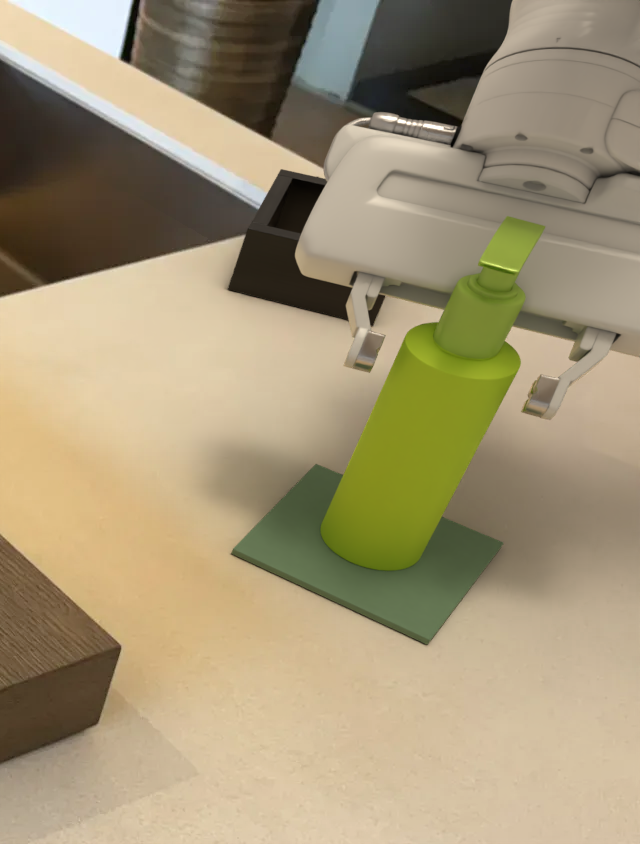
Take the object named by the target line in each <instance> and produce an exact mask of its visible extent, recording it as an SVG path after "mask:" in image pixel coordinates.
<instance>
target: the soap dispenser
mask: <svg viewBox="0 0 640 844" xmlns="http://www.w3.org/2000/svg"><path fill="white" fill-rule="evenodd" d="M544 229H545V226H543V225H539V224H535V223H532V222H528V221H524V220H521V219H517V218H513V217H509V216H507V217H506V218H505V220H504V221H503V222H502V224H501V225H500V227H499V228H498V230H497V231H496V233H495V234H494V236H493V238H492V239H491V241H490V243H489V244H488V246H487V248H486V250H485V251H484V253H483V255H482V257H481V258H480V260H479V263H478V266H481V267H483V269H482V271H481V273H478V274H473V275H467V276H464V277H462V278H461V279H460V280H459V281H458V282H457V284H456V286H455V288H454V290H453V292H452V294H451V297H450V299H449V301H448V303H447V305H446V307H445V310H443V312H442V314H441V316H440V318H439V320H438V321H434V322H433V321H432V322H426V323H421V324H418V325H415V326H414V327H412V328H411V329H409V330H408V331H407V332H406V334H405V336H404V338H403V340H402V343H401V345H400V346H399V349H398V351H397V354H396V356H395V358H394V360H393V362H392V365H391V367H390V370H389V371H388V374H387V376H386V378H385V381H384V383H383V385H382V387H381V389H380V392H379V393H378V396H377V399H376V401H375V403H374V405H373V408H372V410H371V412H370V414H369V417H368V419H367V421H366V422H365V425H364V427H363V430H362V432H361V434H360V436H359V439H358V440H357V443H356V446H355V448H354V450H353V452H352V455H351V456H350V459H349V461H348V463H347V466H346V468H345V470H344V473H343V474H342V475H343V477H342V479H341V481H340V484H339V486H338V488H337V490H336V492H335V495H334V497H333V499H332V501H331V504H330V506H329V508H328V510H327V513H326V515H325V517H324V519H323V522H322V524H321V528H320V531H321V536H322V538H323V540H324V542H325V543H326V545H327V546H328V547H329V548H330V549H331V550H332V551H333V552H335V553H336V554H337V555H339V556H340V557H342V558H344V559H345V560H347V561H349V562H352V563H354V564H356V565H359V566H362V567H366V568H370V569H375V570H384V571H393V570H401V569H405V568H408V567H410V566H412V565H414V564H415V563H416V562H417V561H418V560H419V559H420V557H421V555H422V553H423V551H424V550H425V548H426V546H427V544H428V542H429V540H430V538H431V536H432V534H433V532H434V530H435V529H436V527H437V525H438V523H439V521H440V519H441V517H443V515H444V513H445V511H446V509H447V507H448V506H449V504H450V502H451V500H452V499H453V496H454V494H455V493H456V491H457V489H458V486H459V485H460V482H461V481H462V479H463V477H464V475H465V474H466V471H467V470H468V468H469V465H470V463H471V462H472V460H473V458H474V456H475V454H476V452H477V450H478V449H479V447H480V444H481V443H482V440H483V439H484V437H485V435H486V433H487V431H488V429H489V427H490V426H491V424H492V422H493V420H494V418H495V416H496V414H497V412H498V410H499V409H500V406H501V405H502V402H503V401H504V399H505V397H506V395H507V393H508V391H509V389H510V387H511V385H512V384H513V382H514V379H515V378H516V375H517V374H518V372H519V370H520V369H521V364H522V359H521V356H520V354H519V353H518V351H517V350H516V349H515V348H514V347H513V346H512V345H511V344H510V343H509V342H507V341H506V339H507V338H508V336H509V334H510V332H511V330H512V328H513V327H512V326H513V324H514V322H515V320H516V318H517V316H518V314H519V312H520V310H521V308H522V306H523V304H524V302H525V299H526V296H525V293H524V291H523V290H522V289H521V288H520V287H519V286H518V285H517V284H516V283H515V281H516V279H517V277H518V275H519V273H520V271H521V269H522V267H523V265H524V263H525V262H526V260H527V258H528V257H529V255H530V253H531V252H532V250H533V248H534V247H535V245H536V243H537V242H538V240H539V238H540V237H541V235H542V233H543V231H544Z"/></svg>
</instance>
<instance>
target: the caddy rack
mask: <svg viewBox="0 0 640 844" xmlns="http://www.w3.org/2000/svg"><path fill="white" fill-rule="evenodd" d="M326 184H327V181H326V179H325V177H319V176H314V175H310V174H306V173H302V172H301V173H300V172H296V171H291V170H287V169H283V168H281V169H280V170H279V171H278V173H277V175H276V177H275V179H274V180H273V183H272V184H271V186H270V188H269V190H268V192H267V193H266V194H265V197H264V199H263V201H262V202H261V204H260V206H259V208H258V209H257V211H256V213H255V214H254V217H253V219H252V220H251V222H250V223H249V225H248V227H247V230H246V232H245V234H244V238H243V241H242V244H241V247H240V250H239V254H238V256H237V259H236V262H235V266H234V269H233V272H232V274H231V277H230V280H229V282H228V283H229V284H228V287H227V290H228V291H232V292H235V293H239V294H240V293H241V294H244V295H247V296H252V297H256V298H259V299H263V300H268V301H272V302H276V303H279V304H283V305H287V306H291V307H295V308H300V309H303V310H307V311H310V312H311V311H312V312H315V313H319V314H323V315H328V316H330V317H331V316H332V317H335V318H339V319H343V320H347V321H349V319H348V314H347V309H346V303H347V301H348V298H349V296H350V293H351V291H352V287H348V286H344V285H339V284H335V283H331V282H327V281H323V280H319V279H315V278H310V277H307V276H304V275H303V274H302V273H301V271H300V269H299V267H298V264H297V262H296V259H295V252H296V247H297V244H298V241H299V239H300V236H301V233H302V231H303V229H304V226H305V224H306V222H307V220H308V218H309V216H310V214H311V211H312V210H313V208H314V206H315V204H316V202H317V200H318V198H319V196H320V194H321V192H322V191H323V189H324V187H325V185H326ZM385 299H386V296H385V295H381V294H378V296H377V299H376V301H375V303H374V305H373V308H372V309H371V310H368V315H369V320H370V326H371V327H373V326H374V325H375V323H376V320H377V317H378V316H379V313H380V311H381V308H382V305H383V303H384V301H385Z"/></svg>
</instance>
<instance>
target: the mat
mask: <svg viewBox="0 0 640 844" xmlns="http://www.w3.org/2000/svg"><path fill="white" fill-rule="evenodd" d="M343 475H344V474H342V473H339V472H338V471H337V472H336V471H334V470H332V469H329V468H327V467H325V466H323V465H320V464H318V463H315V464H314V465H313V466H312V468H310V469H309V470H308V471H307V472H306V473H305V474H304V475H303V476H302V477H301V479H299V481H298V482H296V483H295V485H294V486H293V487H292V488H290V490H289V491H288V492H287V493H286V494H285V495H284V496H283V497H282V498H281V499H280V500H279V501H278V502H277V503H276V504H275V505H274V506H273V507H272V508H271V509H270V510H269V511H268V512H267V513H266V514H265V515H264V516H263V517H262V518H261V519H260V520H259V522H257V523H256V524H255V525H254V527H253V528H252V529H251V530H250V531H248V533H247V534H246V535H245V536H244V537H243V538H241V540H239V542H238V543H237V544H235V546H234V547H233V548H232V549H231V555H233V556H235V557H238V558H239V559H242V560H244V561H245V562H248V563H251V564H252V565H254V566H257V567H259V568H261V569H263V570H265V571H267V572H270V573H272V574H274V575H276V576H278V577H281V578H283V579H284V580H287V581H289V582H291V583H293V584H296V585H298V586H299V587H302V588H304V589H306V590H309V592H310V591H311V592H313V593H315V594H317V595H319V596H321V597H324V598H325V599H328V600H329V601H332V602H334V603H336V604H338V605H340V606H342V607H345V608H347V609H349V610H352V611H353V612H356V613H358V614H360V615H362V616H364V617H366V618H369V619H370V620H373V621H375V622H377V623H379V624H382V625H384V626H386V627H388V628H390V629H392V630H394V631H396V632H398V633H400V634H404V635H405V636H407V637H409V638H412V639H414V640H416V641H418V642H420V643H422V644H424V645H429V644H430V642H432V640H433V638H434V637H435V636H436V634H437V633H438V632H439V630H440V629H441V628H442V627H443V625H444V624H445V623H446V621H448V619H449V617H450V616H452V613H453V612H454V611H455V609H456V608H457V606H458V605H459V604H460V603H461V602H462V600H463V599H464V597H465V596H466V595H467V593H468V592H469V590H471V588H472V587H473V586H474V584H476V582H477V580H478V579H479V578H480V576H481V575H482V573H483V572H484V571H485V570H486V568H487V567H488V566H489V564H490V563H491V562H492V560H493V559H494V558H495V556H496V555H497V553H498V552H499V551H500V550H501V548H502V547H503V545H504V541H501V540H499V539H498V538H497V539H496V538H494V537H492V536H489V535H488V534H485V533H482V532H480V531H478V530H475V529H473V528H470V527H468V526H465V525H463V524H462V523H461V524H460V523H458V522H456V521H453V520H451V519H449V518H446V517H444V516H442V517H441V519H440V521H439V523H438V525H437V527H436V529H435V530H434V532H433V534H432V536H431V538H430V540H429V542H428V544H427V546H426V548H425V550H424V551H423V553H422V555H421V557H420V559H419V560H418V561H417V562H416V563H415V564H414V565H412V566H410V567H408V568H405V569H401V570H393V571H384V570H375V569H370V568H366V567H362V566H359V565H356V564H354V563H352V562H349V561H347V560H345V559H344V558H342V557H340V556H339V555H337V554H336V553H335V552H333V551H332V550H331V549H330V548H329V547H328V546H327V545H326V543H325V542H324V540H323V538H322V536H321V531H320V528H321V524H322V522H323V519H324V517H325V515H326V513H327V510H328V508H329V506H330V504H331V501H332V499H333V497H334V495H335V492H336V490H337V488H338V486H339V484H340V481H341V479H342V477H343Z"/></svg>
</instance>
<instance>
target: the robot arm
mask: <svg viewBox="0 0 640 844" xmlns="http://www.w3.org/2000/svg"><path fill="white" fill-rule="evenodd" d="M508 15H509V16H508V27H507V32H506V35H505V37H504V40H503V42H502V44H500V46H499V48H498V49H497V51H496V52H495V53H494V54H493V56H492V57H491V58H490V59H489V61H488V62H487V64H486V66H485V67H484V69H483V71H482V73H481V76H480V78H479V81H478V82H477V86H476V88H475V91H474V92H473V95H472V98H471V100H470V103H469V105H468V107H467V110H466V113H465V114H464V118H463V120H462V123H461V125H459V126H457V125H452V124H446V123H442V122H437V121H432V120H422V119H419V120H418V119H411V118H406V117H401V116H400V115H398V114H395V113H392V112H384V111H378V112H374V113H373V114H372V117H368V116H366V117H360V118H359V117H358V118H355V119H354V120H351V121H349V122H348V123H346V124H344V125H343V126H342V127H341V128H340V129H339V130H338V131H337V132H336V134H335V135H334V137H333V138H332V141H331V144H330V147H329V149H328V151H327V154H326V157H325V159H324V162H323V176H324V179H326V181H327V184H326V185H325V187H324V189H323V191H322V192H321V194H320V196H319V198H318V200H317V202H316V204H315V206H314V208H313V210H312V211H311V214H310V216H309V218H308V220H307V222H306V224H305V226H304V229H303V231H302V233H301V236H300V239H299V241H298V244H297V247H296V252H295V259H296V262H297V264H298V267H299V269H300V271H301V273H302V274H303V275H304V276H307V277H310V278H315V279H319V280H323V281H327V282H331V283H335V284H339V285H344V286H348V287H352V291H351V293H350V296H349V298H348V301H347V303H346V309H347V314H348V319H349V320H348V323H349V328H350V329H349V330H350V334H351V338H353V340H352V343H351V345H350V347H349V350H348V353H347V355H346V357H345V360H344V362H343V365H342V367H345V368H348V369H353V370H356V371H360V372H364V373H368V374H370V373H371V371H372V370H373V368H374V366H375V363H376V361H377V359H378V356H379V352H380V350H381V348H382V346H383V343H384V341H385V339H386V336H387V335H386V334H383V333H379V332H376V331H372V326H370V320H369V315H368V310H371V309H372V308H373V305H374V303H375V301H376V299H377V296H378V294H381V295H385V297H389V298H393V299H397V300H401V301H405V302H409V303H413V304H418V305H421V306H422V305H423V306H426V307H430V308H434V309H439V310H442V311H444V310H445V307H446V305H447V303H448V301H449V299H450V297H451V294H452V292H453V290H454V288H455V286H456V284H457V282H458V281H459V280H460V279H461V278H462V277H464V276H467V275H473V274H478V273H481V271H482V269H483V267H481V266H478V263H479V260H480V258H481V257H482V255H483V253H484V251H485V250H486V248H487V246H488V244H489V243H490V241H491V239H492V238H493V236H494V234H495V233H496V231H497V230H498V228H499V227H500V225H501V224H502V222H503V221H504V220H505V218H506V217H507V216H509V217H513V218H517V219H521V220H524V221H528V222H532V223H535V224H539V225H543V226H545V229H544V231H543V233H542V235H541V237H540V238H539V240H538V242H537V243H536V245H535V247H534V248H533V250H532V252H531V253H530V255H529V257H528V258H527V260H526V262H525V263H524V265H523V267H522V269H521V271H520V273H519V275H518V277H517V279H516V281H515V283H516V284H517V285H518V286H519V287H520V288H521V289H522V290H523V291H524V293H525V296H526V299H525V302H524V304H523V306H522V308H521V310H520V312H519V314H518V316H517V318H516V320H515V322H514V324H513V326H512V328H516V329H521V330H524V331H527V332H533V333H537V334H541V335H546V336H549V337H553V338H557V339H562V340H565V341H570V342H573V345H572V348H571V350H570V353H569V355H568V360H569V361H572V362H575V363H574V364H572V365H571V366H570V367H569V368H568V369H567V370H565V371H564V372H563V373H562V374H560V375H559V376H557V377H555V376H550V375H546V374H542V373H541V374H540V375H539V376H538V377H537V378H536V379H535V380H534V381H533V382H532V384H531V386H530V388H529V390H528V392H527V399H526V400H525V401H524V402H523V405H522V407H521V410H520V413H521V414H525V415H529V416H533V417H536V418H540V419H544V420H548V421H551V420H552V419H553V418H554V417H555V416H556V415H557V413H558V411H559V410H560V407H561V405H562V403H563V401H564V398H565V396H566V394H567V392H568V389H569V388H570V387H571V386H573V384H575V383H577V382H578V381H579V380H580V379H582V378H583V377H584V376H585V375H587V374H588V373H589V372H590V371H592V370H593V369H594V368H596V366H598V365H599V364H600V363H601V362H602V361H603V360H604V359H605V358H606V357H607V356H608V354H609V353H610V351H611V352H615V353H619V354H623V355H628V356H632V357H636V358H640V0H512V1H511V4H510V9H509V14H508ZM363 126H368V127H363Z"/></svg>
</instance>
